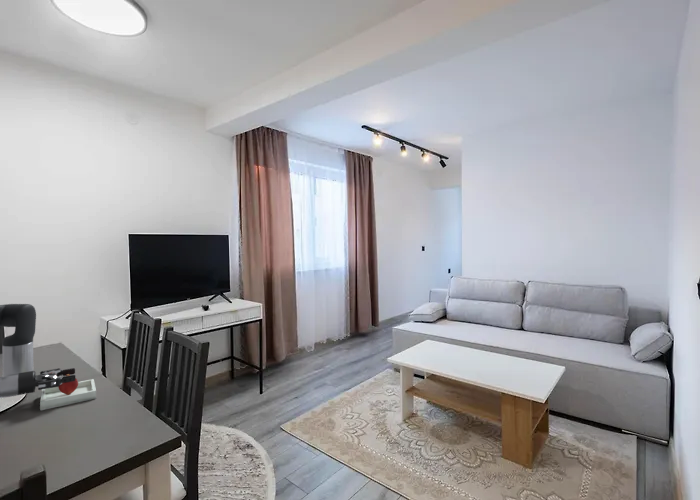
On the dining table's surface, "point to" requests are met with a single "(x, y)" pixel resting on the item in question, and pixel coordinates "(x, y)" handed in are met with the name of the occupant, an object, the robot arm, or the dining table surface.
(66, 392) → the onion
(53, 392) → the tray
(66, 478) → the dining table surface
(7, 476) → the dining table surface
